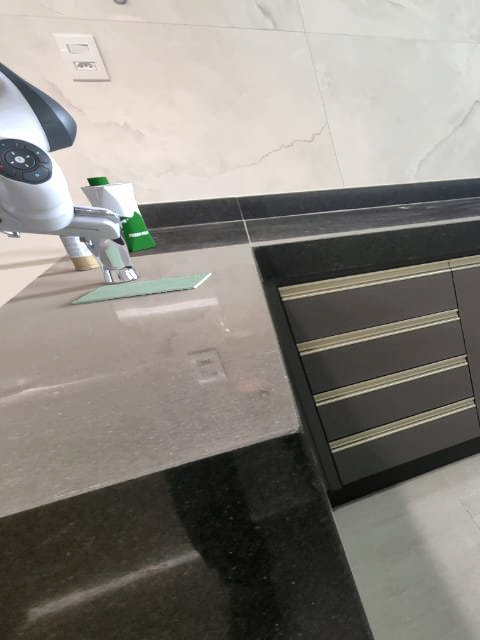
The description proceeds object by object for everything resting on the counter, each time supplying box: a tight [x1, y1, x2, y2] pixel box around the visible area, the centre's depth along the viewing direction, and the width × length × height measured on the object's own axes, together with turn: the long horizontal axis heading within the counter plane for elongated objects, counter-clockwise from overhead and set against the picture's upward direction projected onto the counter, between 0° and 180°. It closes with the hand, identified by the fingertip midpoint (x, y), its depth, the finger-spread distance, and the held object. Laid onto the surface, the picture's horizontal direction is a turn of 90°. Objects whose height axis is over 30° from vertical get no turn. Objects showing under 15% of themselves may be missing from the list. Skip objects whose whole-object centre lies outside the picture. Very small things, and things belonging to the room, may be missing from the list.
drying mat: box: [72, 272, 212, 305], centre depth 113 cm, size 20×13×1 cm, turn 114°
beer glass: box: [84, 211, 142, 285], centre depth 118 cm, size 7×7×15 cm
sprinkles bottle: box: [58, 235, 100, 271], centre depth 130 cm, size 5×5×14 cm
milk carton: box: [79, 176, 157, 253], centre depth 150 cm, size 9×9×20 cm
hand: (51, 236), depth 105 cm, fingers open, 8 cm apart
